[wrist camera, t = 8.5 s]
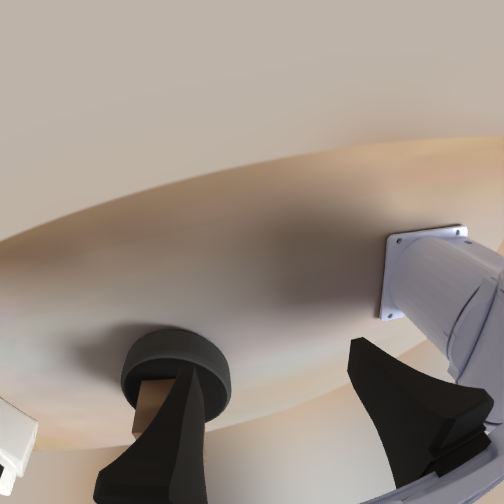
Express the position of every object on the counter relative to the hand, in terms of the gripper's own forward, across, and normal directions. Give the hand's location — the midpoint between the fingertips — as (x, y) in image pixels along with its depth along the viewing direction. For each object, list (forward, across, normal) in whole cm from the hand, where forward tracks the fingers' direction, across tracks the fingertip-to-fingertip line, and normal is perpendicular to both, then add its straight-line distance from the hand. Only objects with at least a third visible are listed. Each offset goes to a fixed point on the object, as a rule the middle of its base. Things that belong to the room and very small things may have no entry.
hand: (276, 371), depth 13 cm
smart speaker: (+10, +7, +8) cm, 15 cm away
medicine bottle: (+10, +33, +17) cm, 38 cm away
